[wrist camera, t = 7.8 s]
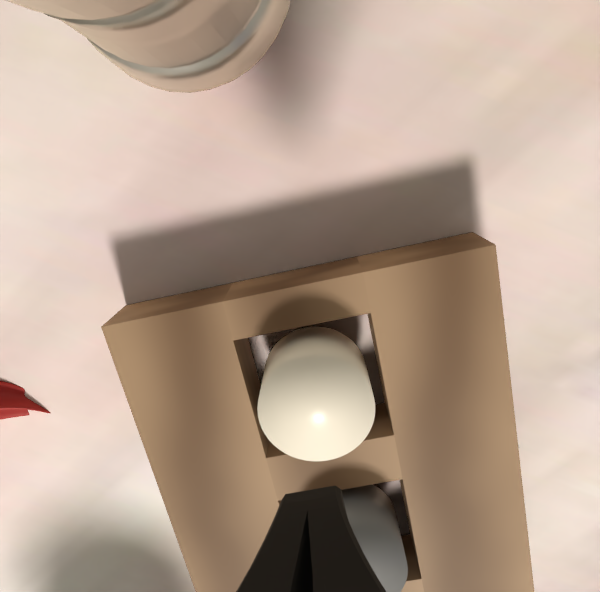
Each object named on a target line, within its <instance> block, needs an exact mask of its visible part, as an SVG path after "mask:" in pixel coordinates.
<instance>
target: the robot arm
mask: <svg viewBox="0 0 600 592" xmlns="http://www.w3.org/2000/svg"><path fill="white" fill-rule="evenodd" d="M236 592H386V590H385V589H384V587H383V586H382V584H381V582H380V581H379V579H378V578H377V576H376V574H375V572H374V571H373V569H372V567H371V566H370V564H369V562H368V560H367V558H366V557H365V555H364V553H363V551H362V549H361V547H360V545H359V543H358V541H357V539H356V537H355V534H354V532H353V530H352V528H351V525H350V523H349V520H348V517H347V513H346V509H345V505H344V500H343V496H342V492H341V489H340V488H339V487H337V486H329V487H324V488H318V489H312V490H306V491H300V492H295V493H289V494H285V496H284V497H283V498H282V500H281V503H280V505H279V508H278V510H277V512H276V515H275V517H274V519H273V522H272V524H271V526H270V528H269V530H268V533H267V535H266V537H265V539H264V541H263V543H262V545H261V547H260V549H259V551H258V553H257V555H256V557H255V559H254V561H253V563H252V565H251V567H250V569H249V570H248V572H247V574H246V576H245V577H244V579H243V581H242V583H241V584H240V586H239V588H238V590H237V591H236Z"/></svg>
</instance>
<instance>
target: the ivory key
mask: <svg viewBox="0 0 600 592" xmlns="http://www.w3.org/2000/svg"><path fill="white" fill-rule="evenodd" d="M257 410H258V419H259V423H260V425H261V428H262V430H263V432H264V434H265V435H266V437H267V438H268V440H269V441H270V442H271V443H272V444H273V445H274V446H275V447H277V448H278V449H279V450H281V451H282V452H284V453H285V454H287V455H289V456H291V457H294V458H297V459H301V460H305V461H328V460H332V459H336V458H339V457H342V456H344V455H346V454H348V453H349V452H351V451H352V450H354V449H355V448H356V447H358V446H359V445H360V444H361V443H362V442H363V441H364V439H365V438H366V437H367V435H368V434H369V432H370V430H371V428H372V425H373V422H374V418H375V400H374V396H373V392H372V388H371V384H370V380H369V376H368V372H367V367H366V364H365V360H364V357H363V355H362V353H361V351H360V349H359V348H358V347H357V345H356V344H355V343H354V342H353V341H352V340H351V339H350V338H348V337H347V336H346V335H344V334H342V333H340V332H339V331H336V330H333V329H330V328H326V327H305V328H301V329H298V330H295V331H293V332H291V333H289V334H287V335H286V336H284V337H283V338H281V339H280V340H279V341H278V342H277V343H276V344H275V346H274V347H273V348H272V350H271V352H270V353H269V355H268V358H267V361H266V365H265V369H264V374H263V379H262V384H261V389H260V394H259V399H258V406H257Z"/></svg>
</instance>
